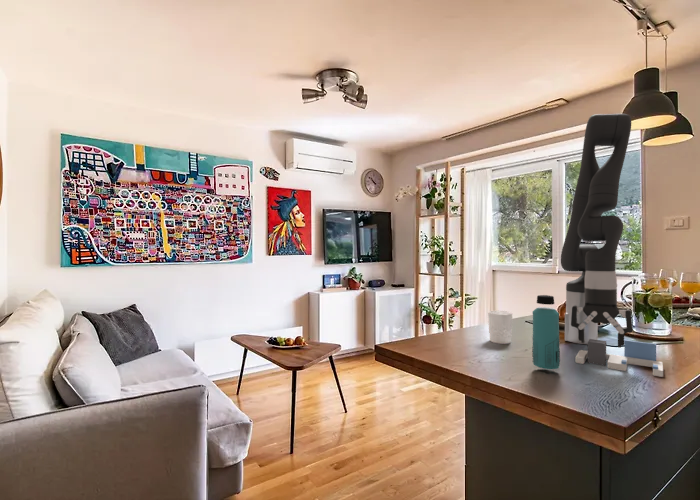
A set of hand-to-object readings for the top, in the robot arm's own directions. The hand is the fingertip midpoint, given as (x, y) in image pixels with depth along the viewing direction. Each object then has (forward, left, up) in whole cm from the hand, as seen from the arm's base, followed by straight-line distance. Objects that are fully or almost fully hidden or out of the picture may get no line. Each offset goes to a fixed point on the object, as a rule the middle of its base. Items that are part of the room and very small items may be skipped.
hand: (600, 344), depth 105 cm
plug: (-1, 0, -5) cm, 5 cm away
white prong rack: (+4, +1, -5) cm, 7 cm away
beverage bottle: (-11, -17, -5) cm, 21 cm away
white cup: (-30, +7, -5) cm, 31 cm away
